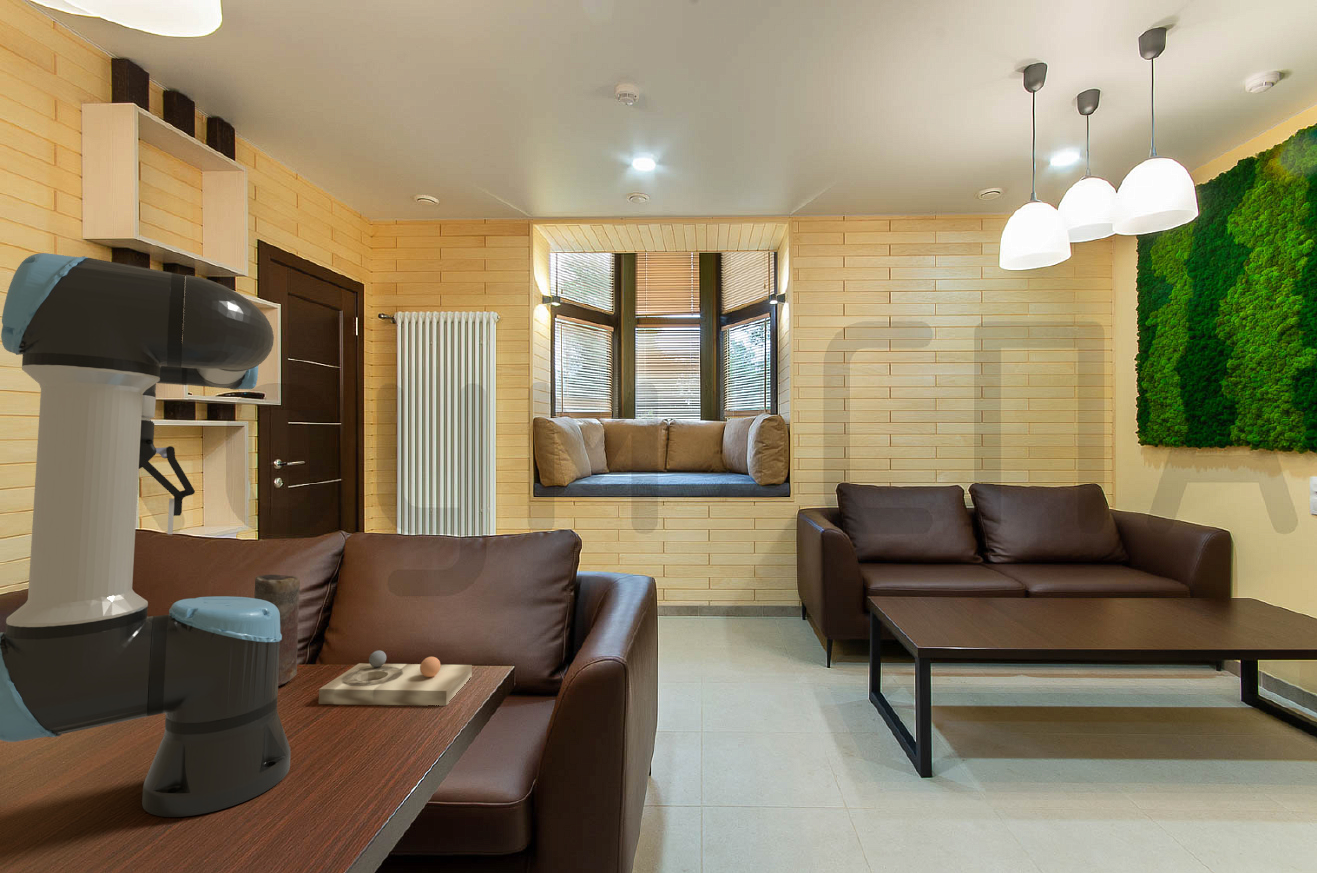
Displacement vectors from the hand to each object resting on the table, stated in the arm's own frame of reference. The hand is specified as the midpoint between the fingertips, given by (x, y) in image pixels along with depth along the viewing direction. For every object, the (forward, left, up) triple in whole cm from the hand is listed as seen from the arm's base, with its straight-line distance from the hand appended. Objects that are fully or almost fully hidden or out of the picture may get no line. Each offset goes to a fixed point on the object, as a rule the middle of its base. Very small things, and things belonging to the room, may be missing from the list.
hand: (120, 536), depth 105 cm
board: (-31, -40, -28) cm, 57 cm away
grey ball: (-23, -38, -24) cm, 50 cm away
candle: (-13, -23, -28) cm, 38 cm away
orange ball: (-34, -44, -23) cm, 60 cm away
